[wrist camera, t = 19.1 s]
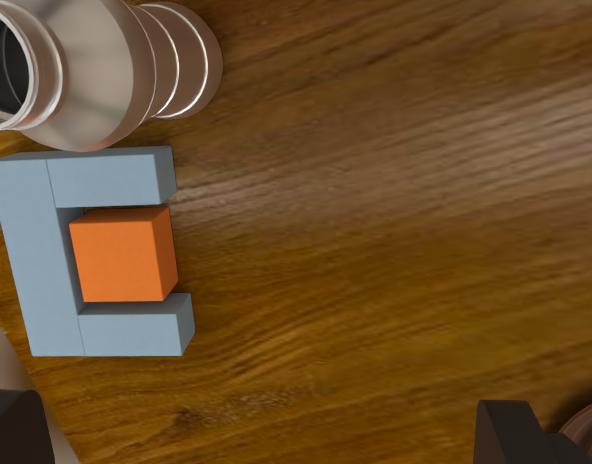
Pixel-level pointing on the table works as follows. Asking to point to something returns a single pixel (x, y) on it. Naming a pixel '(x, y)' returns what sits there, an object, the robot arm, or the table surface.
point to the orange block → (125, 254)
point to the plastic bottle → (101, 68)
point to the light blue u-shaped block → (61, 258)
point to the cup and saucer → (580, 429)
